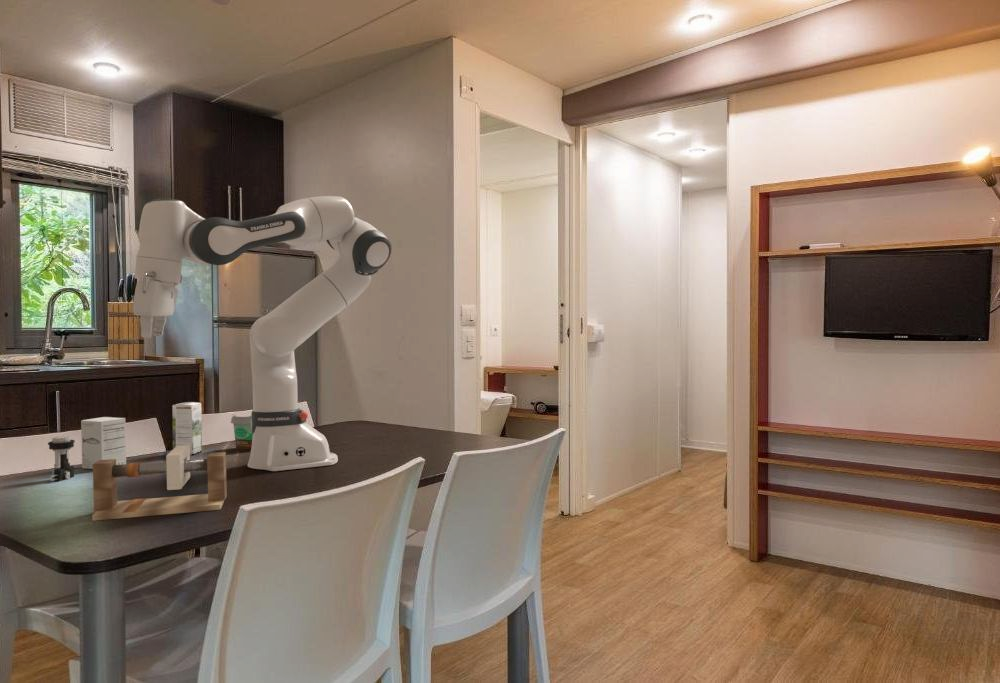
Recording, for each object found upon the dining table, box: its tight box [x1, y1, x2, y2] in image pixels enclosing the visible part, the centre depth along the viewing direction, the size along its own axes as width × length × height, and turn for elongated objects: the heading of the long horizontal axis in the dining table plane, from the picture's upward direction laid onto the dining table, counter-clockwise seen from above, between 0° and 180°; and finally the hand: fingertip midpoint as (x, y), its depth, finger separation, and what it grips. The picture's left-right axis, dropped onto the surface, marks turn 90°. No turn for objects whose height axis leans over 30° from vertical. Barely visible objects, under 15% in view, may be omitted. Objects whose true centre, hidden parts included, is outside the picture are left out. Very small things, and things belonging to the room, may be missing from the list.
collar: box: [165, 445, 191, 491], centre depth 131 cm, size 2×11×7 cm, turn 16°
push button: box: [47, 435, 75, 482], centre depth 158 cm, size 7×5×10 cm
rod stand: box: [91, 451, 228, 521], centre depth 130 cm, size 23×10×10 cm, turn 107°
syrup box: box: [171, 401, 203, 455], centre depth 188 cm, size 6×6×14 cm
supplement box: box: [80, 416, 127, 470], centre depth 172 cm, size 7×7×13 cm
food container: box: [230, 413, 253, 452], centre depth 194 cm, size 12×6×10 cm, turn 81°
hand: (152, 336), depth 143 cm, fingers open, 8 cm apart
